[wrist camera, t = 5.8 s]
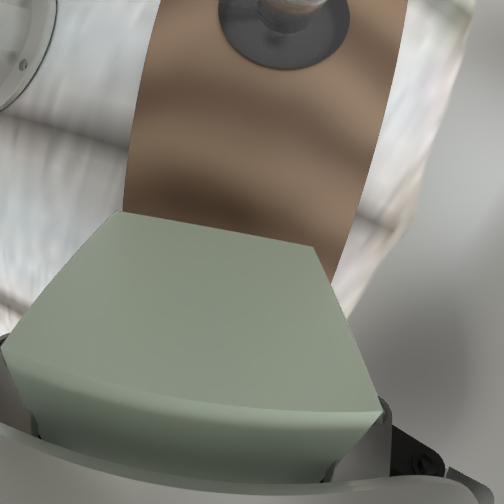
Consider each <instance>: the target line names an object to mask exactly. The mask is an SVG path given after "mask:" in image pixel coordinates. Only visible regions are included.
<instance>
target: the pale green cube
mask: <svg viewBox="0 0 504 504" xmlns="http://www.w3.org/2000/svg"><path fill="white" fill-rule="evenodd" d="M0 348H1V351H2V354H3V356H4V359H5V362H6V364H7V367H8V369H9V372H10V374H11V377H12V379H13V381H14V384H15V386H16V388H17V391H18V393H19V395H20V397H21V399H22V402H23V404H24V406H25V408H26V409H28V410H30V411H32V413H33V415H34V417H35V419H36V421H37V423H38V433H39V435H40V437H41V439H42V440H44V441H47V442H49V443H52V444H55V445H58V446H60V447H63V448H66V449H69V450H72V451H75V452H78V453H81V454H85V455H88V456H91V457H95V458H98V459H102V460H105V461H109V462H113V463H117V464H121V465H125V466H129V467H133V468H138V469H143V470H147V471H152V472H158V473H163V474H169V475H175V476H181V477H188V478H196V479H204V480H213V481H224V482H237V483H254V484H312V483H319V482H320V481H321V480H322V479H323V478H324V477H325V473H326V470H327V469H328V468H329V467H330V466H331V465H332V464H333V463H334V461H335V460H339V459H343V458H344V457H345V456H346V455H347V453H348V452H349V451H350V450H351V449H352V448H353V447H354V446H355V445H356V443H357V442H358V441H359V440H360V439H361V438H362V436H363V435H364V434H365V433H366V432H367V431H368V429H369V428H370V427H371V426H372V425H373V423H374V422H375V421H376V420H377V418H378V417H379V416H380V415H381V413H382V412H383V409H382V406H381V404H380V401H379V399H378V396H377V393H376V391H375V388H374V386H373V383H372V381H371V378H370V376H369V373H368V371H367V369H366V366H365V364H364V361H363V359H362V356H361V354H360V351H359V349H358V347H357V344H356V342H355V340H354V337H353V335H352V332H351V330H350V328H349V325H348V323H347V321H346V318H345V316H344V314H343V311H342V309H341V307H340V305H339V302H338V300H337V298H336V296H335V293H334V291H333V289H332V287H331V284H330V282H329V280H328V278H327V276H326V274H325V271H324V269H323V267H322V265H321V263H320V261H319V258H318V256H317V254H316V252H315V250H314V248H313V247H311V246H306V245H301V244H296V243H291V242H286V241H281V240H275V239H270V238H265V237H260V236H254V235H249V234H244V233H238V232H233V231H228V230H222V229H217V228H211V227H206V226H201V225H195V224H190V223H184V222H178V221H173V220H167V219H162V218H156V217H150V216H145V215H139V214H133V213H128V212H122V211H115V212H114V213H113V214H112V215H111V216H110V217H109V218H108V219H107V220H106V221H105V222H104V223H103V224H102V225H101V226H100V227H99V228H98V229H97V230H96V231H95V233H94V234H93V235H92V236H91V237H90V238H89V239H88V240H87V241H86V242H85V243H84V244H83V245H82V246H81V248H80V249H79V250H78V251H77V252H76V253H75V254H74V255H73V256H72V258H71V259H70V260H69V261H68V262H67V263H66V264H65V265H64V267H63V268H62V269H61V270H60V271H59V272H58V274H57V275H56V276H55V277H54V278H53V279H52V281H51V282H50V283H49V284H48V285H47V287H46V288H45V289H44V290H43V292H42V293H41V294H40V295H39V296H38V298H37V299H36V300H35V301H34V303H33V304H32V305H31V307H30V308H29V309H28V310H27V312H26V313H25V314H24V316H23V317H22V318H21V320H20V321H19V322H18V324H17V325H16V326H15V328H14V329H13V330H12V332H11V333H10V334H9V336H8V337H7V339H6V340H5V341H4V343H3V344H2V346H1V347H0Z"/></svg>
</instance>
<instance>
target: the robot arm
mask: <svg viewBox="0 0 504 504" xmlns="http://www.w3.org/2000/svg"><path fill="white" fill-rule="evenodd" d="M55 15H56V0H0V110H2V109H4V108H5V107H7V106H8V105H9V104H10V103H11V102H12V101H13V100H15V99H16V98H17V96H18V95H19V94H20V93H21V92H22V90H23V89H24V88H25V87H26V85H27V84H28V82H29V81H30V79H31V78H32V77H33V75H34V74H35V72H36V70H37V68H38V66H39V64H40V62H41V60H42V59H43V56H44V53H45V51H46V49H47V46H48V44H49V41H50V37H51V34H52V30H53V27H54V21H55ZM9 334H10V333H8V334H5V335H2V336H1V337H0V347H1V346H2V344H3V343H4V341H5V340H6V339H7V337H8V336H9ZM377 396H378V395H377ZM378 399H379V401H380V404H381V406H382V409H383V412H382V413H381V415H380V416H379V417H378V418H377V420H376V421H375V422H374V423H373V425H372V426H371V427H370V428H369V429H368V431H367V432H366V433H365V434H364V435H363V436H362V438H361V439H360V440H359V441H358V442H357V443H356V445H355V446H354V447H353V448H352V449H351V450H350V451H349V452H348V453H347V455H346V456H345V457H344V458H343V459H339V460H335V461H334V463H333V464H332V465H331V466H330V467H329V468H328V469H327V470H326V473H325V477H324V478H323V479H322V480H321V481H320V482H319V483H312V484H254V483H237V482H224V481H213V480H204V479H196V478H188V477H181V476H175V475H169V474H163V473H158V472H152V471H147V470H143V469H138V468H133V467H129V466H125V465H121V464H117V463H113V462H109V461H105V460H102V459H98V458H95V457H91V456H88V455H85V454H81V453H78V452H75V451H72V450H69V449H66V448H63V447H60V446H58V445H55V444H52V443H49V442H47V441H44V440H42V439H41V437H40V435H39V433H38V423H37V421H36V419H35V417H34V415H33V413H32V411H30V410H28V409H26V408H25V406H24V404H23V402H22V399H21V397H20V395H19V393H18V391H17V388H16V386H15V384H14V381H13V379H12V377H11V374H10V372H9V369H8V367H7V364H6V362H5V359H4V356H3V354H2V351H1V348H0V504H494V496H493V493H492V491H491V490H490V489H489V488H488V487H487V486H485V485H483V484H481V483H479V482H477V481H476V480H473V479H472V478H470V477H468V476H466V475H464V474H463V473H461V472H459V471H457V470H455V469H453V468H451V467H448V468H447V469H445V464H444V462H443V460H442V458H441V457H440V456H439V454H437V453H436V452H435V451H434V450H432V449H431V448H429V447H427V446H426V445H424V444H422V443H420V442H419V441H417V440H416V439H414V438H413V437H411V436H409V435H408V434H406V433H405V432H403V431H402V430H400V429H398V428H397V427H395V426H394V425H392V411H391V409H390V407H389V405H388V404H387V402H386V401H385V400H384V399H382V398H381V397H380V396H378Z"/></svg>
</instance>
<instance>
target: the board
mask: <svg viewBox="0 0 504 504" xmlns="http://www.w3.org/2000/svg"><path fill="white" fill-rule="evenodd" d="M407 3H408V0H161V2H160V6H159V9H158V12H157V16H156V19H155V23H154V27H153V30H152V34H151V38H150V42H149V46H148V50H147V54H146V59H145V63H144V68H143V72H142V77H141V82H140V87H139V92H138V97H137V102H136V108H135V114H134V120H133V126H132V132H131V139H130V146H129V154H128V161H127V170H126V179H125V189H124V199H123V211H122V212H128V213H133V214H139V215H145V216H150V217H156V218H162V219H167V220H173V221H178V222H184V223H190V224H195V225H201V226H206V227H211V228H217V229H222V230H228V231H233V232H238V233H244V234H249V235H254V236H260V237H265V238H270V239H275V240H281V241H286V242H291V243H296V244H301V245H306V246H311V247H313V248H314V250H315V252H316V254H317V256H318V258H319V261H320V263H321V265H322V267H323V269H324V271H325V274H326V276H327V278H328V280H329V282H330V284H331V282H332V279H333V276H334V274H335V271H336V268H337V266H338V263H339V260H340V257H341V254H342V252H343V249H344V246H345V243H346V240H347V237H348V234H349V231H350V228H351V225H352V223H353V219H354V216H355V213H356V210H357V207H358V204H359V201H360V198H361V195H362V191H363V188H364V185H365V182H366V178H367V175H368V172H369V168H370V165H371V161H372V158H373V154H374V151H375V147H376V144H377V140H378V136H379V133H380V129H381V125H382V121H383V118H384V114H385V110H386V106H387V102H388V97H389V93H390V89H391V85H392V80H393V76H394V71H395V67H396V62H397V57H398V53H399V48H400V42H401V37H402V32H403V27H404V21H405V15H406V9H407Z"/></svg>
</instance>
